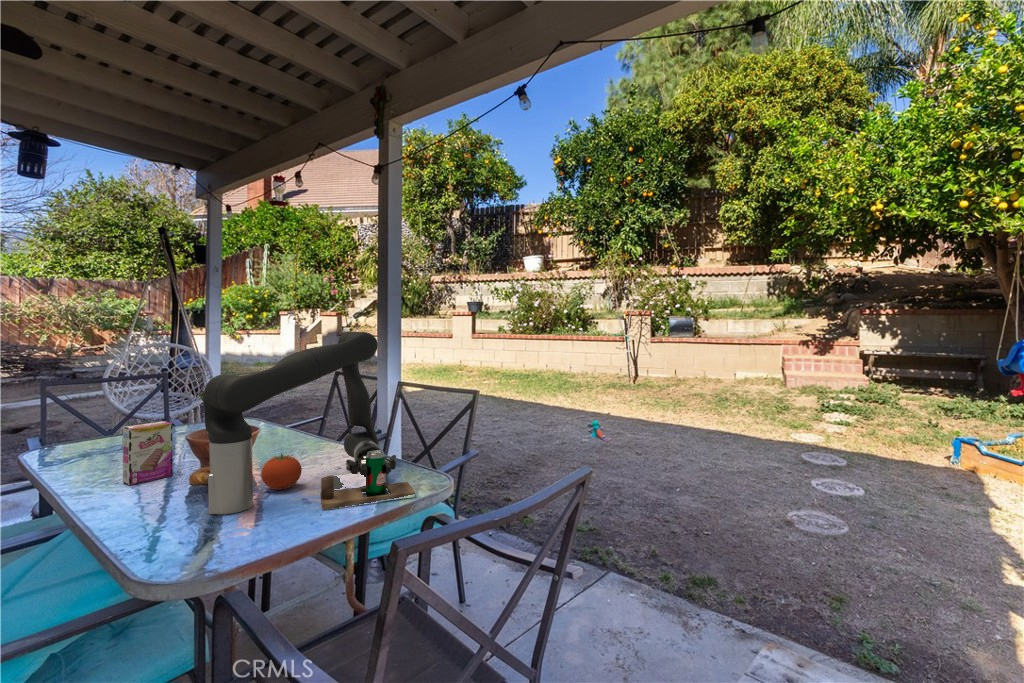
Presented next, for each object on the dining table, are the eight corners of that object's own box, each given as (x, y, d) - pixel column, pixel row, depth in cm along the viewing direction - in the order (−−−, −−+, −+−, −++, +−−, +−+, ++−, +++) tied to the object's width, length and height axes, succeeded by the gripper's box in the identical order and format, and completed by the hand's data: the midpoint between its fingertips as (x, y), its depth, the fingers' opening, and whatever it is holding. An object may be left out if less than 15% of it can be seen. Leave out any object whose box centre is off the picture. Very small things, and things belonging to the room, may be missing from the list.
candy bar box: (130, 486, 138) (128, 428, 138) (122, 483, 141) (120, 426, 140) (174, 476, 148) (173, 422, 147) (165, 473, 150) (164, 420, 150)
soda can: (380, 501, 128) (380, 455, 127) (362, 499, 129) (362, 454, 128) (388, 494, 133) (388, 450, 132) (371, 493, 134) (371, 449, 133)
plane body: (322, 510, 121) (322, 484, 121) (320, 498, 130) (320, 473, 129) (415, 497, 130) (415, 473, 130) (407, 486, 139) (407, 464, 139)
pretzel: (198, 490, 137) (197, 476, 137) (181, 482, 143) (181, 469, 143) (242, 478, 147) (242, 466, 146) (225, 471, 153) (225, 460, 153)
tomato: (255, 488, 137) (255, 453, 137) (293, 480, 144) (292, 446, 144) (269, 497, 130) (268, 460, 129) (307, 488, 137) (307, 453, 137)
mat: (329, 491, 135) (329, 489, 135) (326, 477, 147) (326, 476, 147) (374, 485, 140) (374, 483, 140) (368, 472, 152) (368, 471, 152)
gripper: (342, 445, 140) (348, 460, 125) (392, 440, 146) (404, 454, 131) (342, 471, 141) (348, 489, 125) (393, 465, 146) (404, 482, 131)
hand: (376, 471), depth 128 cm, fingers closed on soda can, 5 cm apart
